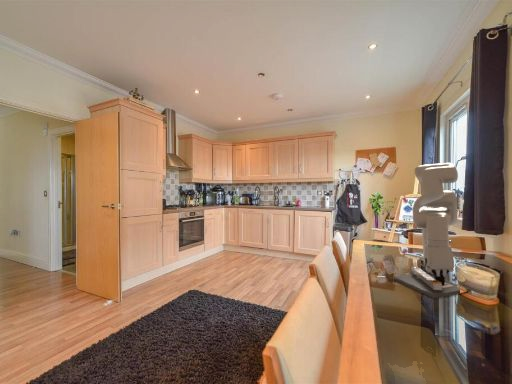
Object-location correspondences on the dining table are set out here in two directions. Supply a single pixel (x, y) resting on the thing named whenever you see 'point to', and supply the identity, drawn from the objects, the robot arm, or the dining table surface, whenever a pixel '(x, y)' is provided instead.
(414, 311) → the dining table surface
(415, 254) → the dining table surface
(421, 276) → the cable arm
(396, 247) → the dining table surface
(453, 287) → the tray
